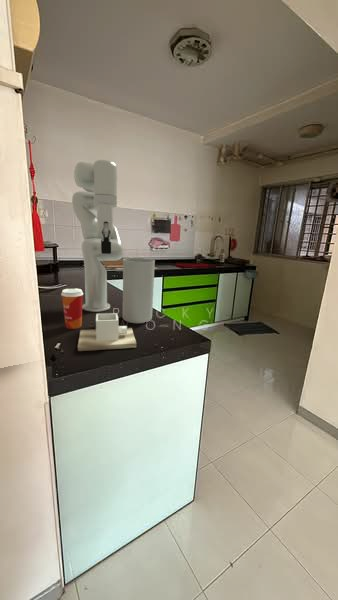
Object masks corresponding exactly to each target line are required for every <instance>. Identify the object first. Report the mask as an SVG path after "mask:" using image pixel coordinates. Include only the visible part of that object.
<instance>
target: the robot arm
mask: <svg viewBox="0 0 338 600" xmlns="http://www.w3.org/2000/svg"><path fill="white" fill-rule="evenodd" d="M73 174H74V176H73V177H74V178H73V179H74V182H75V184H76V186H77V187H79V188H81V189H82V190H83V191H82V190H80V191H77V192H74V193H73V195H72V198H71V204H72V209H73V212H74V214H75V216H76V218H77V221H78V222H79V224H80V228H81V233H82V237H83V240H82V243H81V253H82V257H83V258H82V259H83V265H84V266H83V267H84V291H85V292H84V293H85V303H82V310H84V311H87V312H93V313H94V312H95V313H96V312H99V313H100V312H104V311H107V310H108V311H109V310H110V309H111V304H110V303H108V289H107V288H108V287H107V286H108V279H107V278H108V275H107V274H108V273H107V272H108V271H107V269H106V267H105V265H103V264H102V262H105V261H112V262H113V261H119V260H121V259H122V257H123V254H124V247H123V244H122V241H121V237H120V233H119V230H118V228H117V227H116V226H115V225H114V208H117V207H118V204H117V203H118V200H117V199H118V198H117V197H118V166H117V164H116V163H115V162H114V161H110V160H106V159H97V160H95V161H94V163H92V162H85V161H84V162H83V161H80V162H77V163H76V164H75V166H74V170H73ZM92 211H94V212H96V213H97V214H95V213H93V212H92ZM96 215H97V216H96ZM101 261H102V262H101Z"/></svg>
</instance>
